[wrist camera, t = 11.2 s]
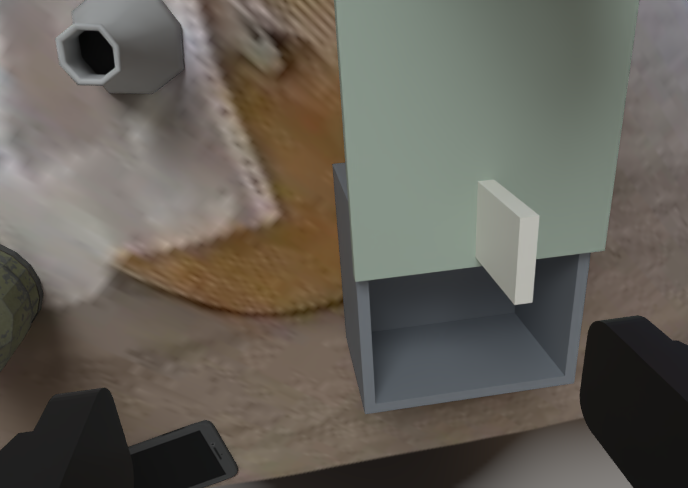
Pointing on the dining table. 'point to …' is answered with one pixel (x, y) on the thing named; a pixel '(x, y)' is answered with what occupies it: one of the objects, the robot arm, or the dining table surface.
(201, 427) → the cell phone
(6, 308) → the thermos
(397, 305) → the carton
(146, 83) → the flask
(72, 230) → the dining table surface
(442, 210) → the lid
